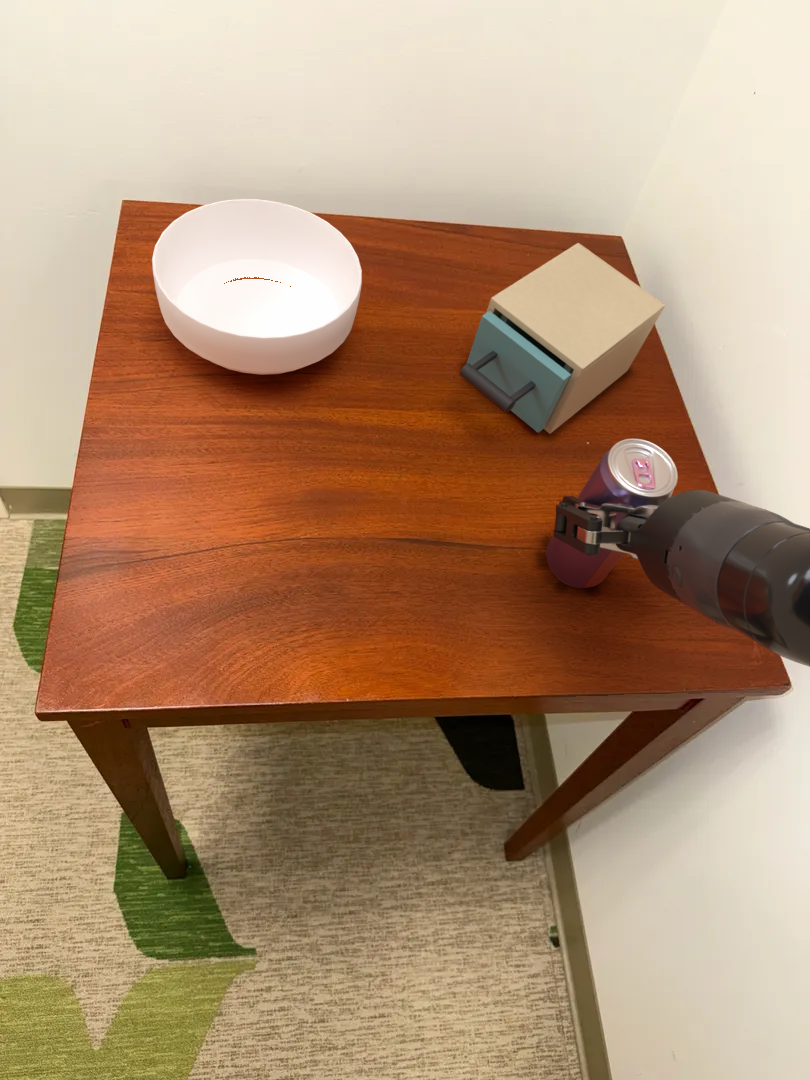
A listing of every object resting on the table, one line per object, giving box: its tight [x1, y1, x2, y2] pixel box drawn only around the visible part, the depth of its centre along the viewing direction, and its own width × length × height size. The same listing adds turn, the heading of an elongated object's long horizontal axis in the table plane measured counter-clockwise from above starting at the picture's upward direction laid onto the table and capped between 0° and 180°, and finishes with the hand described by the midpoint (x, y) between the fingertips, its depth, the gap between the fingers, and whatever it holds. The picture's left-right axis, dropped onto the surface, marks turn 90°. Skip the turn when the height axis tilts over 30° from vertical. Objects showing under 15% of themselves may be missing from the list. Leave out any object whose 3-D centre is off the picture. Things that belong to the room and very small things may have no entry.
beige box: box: [485, 242, 666, 434], centre depth 80 cm, size 15×12×10 cm
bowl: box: [151, 198, 363, 376], centre depth 76 cm, size 20×20×8 cm
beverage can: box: [545, 438, 679, 589], centre depth 65 cm, size 6×6×15 cm
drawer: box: [459, 311, 574, 434], centre depth 78 cm, size 18×10×8 cm, turn 136°
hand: (613, 508), depth 64 cm, fingers open, 8 cm apart
